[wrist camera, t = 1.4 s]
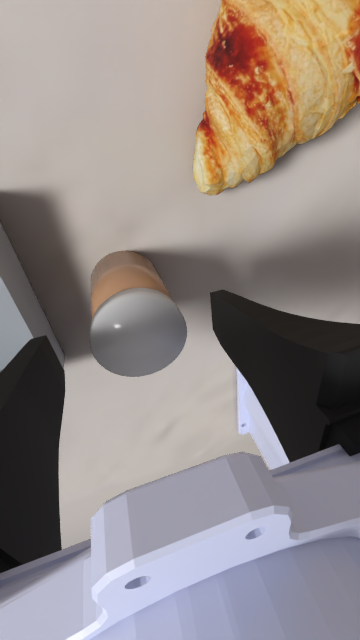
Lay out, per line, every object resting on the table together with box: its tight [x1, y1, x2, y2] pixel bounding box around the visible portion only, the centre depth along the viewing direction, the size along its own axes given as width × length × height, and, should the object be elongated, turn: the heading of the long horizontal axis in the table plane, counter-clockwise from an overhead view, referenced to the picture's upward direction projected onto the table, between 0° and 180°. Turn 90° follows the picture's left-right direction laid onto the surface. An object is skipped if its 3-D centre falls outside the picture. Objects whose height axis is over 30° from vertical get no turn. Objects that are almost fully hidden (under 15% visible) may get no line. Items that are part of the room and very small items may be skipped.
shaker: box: [90, 251, 187, 377], centre depth 14 cm, size 4×4×6 cm
